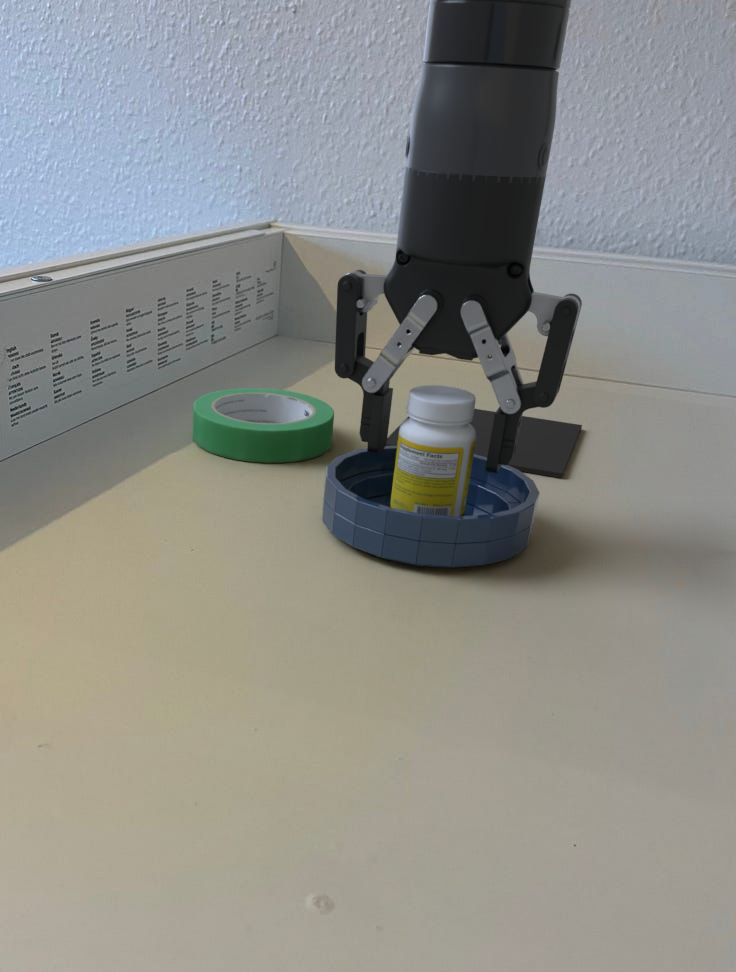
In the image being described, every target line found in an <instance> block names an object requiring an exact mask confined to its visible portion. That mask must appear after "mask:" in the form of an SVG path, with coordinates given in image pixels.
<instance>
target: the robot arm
mask: <svg viewBox="0 0 736 972" xmlns="http://www.w3.org/2000/svg"><path fill="white" fill-rule="evenodd" d="M428 2H429V4H428V10H427V18H426V19H427V20H426V25H425V34H424V42H423V43H424V44H423V51H422V60H421V61H422V62H423V63H424V64H422V65H421V69H420V75H419V80H418V84H417V89H416V91H415V92H416V94H415V96H414V102H413V106H412V110H411V118H410V125H409V133H408V136H407V137H406V142H405V143H406V144H405V152H404V156H405V168H404V176H403V177H404V178H403V186H402V194H401V203H400V204H401V205H400V211H399V222H398V230H397V237H396V238H397V240H396V248H395V257H394V261H393V264H392V266H391V269H390V270H389V271H388V273H387V274H374V273H373V274H371V273H367V272H366V271H364V270H362V269H356V270H352V271H350V272H348V273H346V274H344V275H343V276H341V277H340V278H339V280H338V281H337V289H336V316H335V317H336V319H335V321H336V322H335V347H334V348H335V349H334V372H335V374H336V375H337V377H339V378H340V379H349V380H351V381H352V382H354V383H356V384H357V385H358V386H359V387H360V388H361V390H362V394H363V395H362V396H363V397H362V406H361V415H360V424H359V425H360V426H359V436H360V440H361V442H363V443H367V447H366V448H367V451H368V452H373V453H380V452H381V451H382V450H383V449H384V448H385V446H386V443H387V438H388V437H389V429H390V421H391V419H390V418H391V409H392V404H393V403H392V401H393V394H394V388H393V387H390V382H391V379H392V378H393V376H394V375H395V374H396V373H397V372H398V370H399V369H400V367H401V366H402V365H403V363H404V362H405V361H406V359H407V358H408V357H409V356H410V355H411V353H412V352H413V351H414V350H417V351H418V353H419V354H420V355H427V356H438V355H443V354H446V355H448V356H450V357H453V358H455V359H458V360H463V361H470V362H471V361H473V360H474V359H478V361H479V362H480V365H481V367H482V370H483V373H484V375H485V377H486V379H487V380H488V381H489V383H490V385H491V387H492V390H493V393H494V396H495V398H496V400H497V403H498V405H499V407H498V408H497V410H496V411H494V412H495V416H494V422H493V427H492V433H491V439H490V445H489V451H488V457H487V462H486V469H485V471H486V472H492V473H498V471H499V469H500V467H501V465H508V463H509V462H510V460H511V459H512V457H513V455H514V453H515V452H516V446H517V441H518V435H519V430H520V425H521V420H522V416H523V414H524V412H525V411H527V410H530V409H534V408H543V409H544V408H549V407H551V405H553V403H554V402H555V400H556V398H557V396H558V393H559V392H560V389H561V386H562V382H563V378H564V374H565V372H566V371H565V370H566V366H567V363H568V360H569V355H570V351H571V347H572V344H573V340H574V337H575V333H576V329H577V325H578V320H579V317H580V314H581V309H582V305H583V301H582V299H581V297H580V296H579V295H578V294H576V293H567V294H565V295H564V296H559V295H554V294H550V293H549V294H548V293H543V292H537V291H534V287H533V284H532V281H531V273H530V272H531V271H530V270H531V263H532V257H533V252H534V245H535V241H536V235H537V229H538V223H539V218H540V213H541V212H540V211H541V208H542V207H541V206H542V200H543V195H544V190H545V183H546V179H547V173H548V167H549V162H550V161H549V160H550V155H551V150H552V149H551V148H552V144H553V139H554V132H555V125H556V124H555V123H556V117H557V103H558V102H557V98H558V83H559V77H560V72H559V71H558V70H559V69H560V68H561V62H562V57H563V52H564V47H565V40H566V36H567V35H566V34H567V28H568V23H569V17H570V11H571V10H570V9H571V7H572V6H571V5H572V0H429V1H428ZM382 294H384V297H385V300H386V301H387V303H388V305H389V307H390V310H391V311H392V313H393V315H394V316H395V318H396V320H397V322H398V324H399V326H398V327H397V329H396V330H395V331H394V333H393V334H392V335H391V337H390V338H389V340H388V341H387V343H386V344H385V345H384V347H383V348H382V349H381V351H380V353H379V355H378V356H377V357H376V359H375V361H373V360H371V359H369V358H367V357H366V346H367V327H368V326H367V325H368V312H370V311H372V310H373V309H374V308H376V306H377V304H378V299H379V297H380V296H381V295H382ZM528 312H530V313H531V314H533V315H534V316H535V318H536V328H537V332H538V333H539V334H540V335H542V336H544V337H547V338H546V343H545V347H544V350H543V355H542V358H541V362H540V367H539V369H538V370H539V371H538V374H537V379H536V381H531V382H527V383H524V381H523V377H522V375H521V372H520V370H519V367H518V365H517V364H518V363H517V357H516V354H515V351H514V349H513V346H512V343H511V341H510V338H509V336H508V333H509V332H510V331H511V330H512V329H513V327H515V325H517V323H519V321H520V320H521V319H522V318H523V317H524V316H526V314H527V313H528Z"/></svg>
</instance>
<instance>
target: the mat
mask: <svg viewBox="0 0 736 972" xmlns="http://www.w3.org/2000/svg"><path fill="white" fill-rule="evenodd" d="M495 412H496V411H494V410H485V409H479V408H474V416H473V420H472V421H471V422H470V423H469V424H471V425H472V426H473V428H474V429H475V432H476V443H475V449H474V454H476V455H479V456H483V457H488V451H489V445H490V439H491V433H492V427H493V422H494V416H495ZM407 416H408V415H407ZM408 418H410V417H409V416H408V417H406V419H408ZM400 426H401V424H400V425H399V426H397V427H396V429H395V430H393V432H392V433H391V434H390V435H388V437H387V443H386V446H397V442H398V433H399V428H400ZM582 427H583V425H582V424H577V423H572V422H566V421H559V420H551V419H545V418H538V417H532V416H525V415H522V420H521V425H520V430H519V435H518V441H517V446H516V452H515V453H514V455H513V457H512V459H511V460H510V462H509V463H508V466H511V467H513V468H515V469H518V470H519V471H521V472H522V473H527V474H528V473H529V474H533V475H540V476H544V477H545V476H546V477H552V478H556V479H557V478H558V479H563V477H564V474H565V472H566V469H567V466H568V464H569V462H570V460H571V457H572V455H573V451H574V448H575V446H576V444H577V441H578V439H579V436H580V433H581V431H582Z"/></svg>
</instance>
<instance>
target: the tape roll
mask: <svg viewBox="0 0 736 972" xmlns="http://www.w3.org/2000/svg"><path fill="white" fill-rule="evenodd" d="M192 407H193V408H192V439H193V442H194V443H195V444H196V445H197V446H198V447H199V448H201V449H203V450H204V451H206V452H208V453H211V454H213V455H216V456H219V457H223V458H227V459H230V460H236V461H242V462H250V463H262V464H263V463H264V464H281V463H282V464H283V463H294V462H295V463H296V462H300V461H301V462H303V461H305V460H306V461H307V460H310V459H314V458H317V457H319V456H322V455H324V454H325V453H326V452H328V451H329V450H330V448H331V447H332V442H333V441H332V440H333V432H334V421H335V411H334V408H333V407H332V406H331V405H330V404H329V403H326V402H325V401H323V400H321V399H319V398H317V397H314V396H311V395H308V394H306V393H305V394H304V393H300V392H296V391H290V390H283V389H276V388H264V387H261V388H260V387H238V388H227V389H221V390H217V391H213V392H209V393H206V394H203V395H202V396H200V397H198V398H197V399H196V400H195V401H194V403H193V406H192Z"/></svg>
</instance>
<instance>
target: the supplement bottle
mask: <svg viewBox="0 0 736 972" xmlns="http://www.w3.org/2000/svg"><path fill="white" fill-rule="evenodd" d="M475 407H476V396H475V394H474V393H472V392H470V391H468V390H466V389H463V388H459V387H455V386H448V385H442V384H441V385H440V384H427V385H419V386H415V387H412V388H411V389H410V390H409V394H408V399H407V405H406V415H407V416H409V417H410V418H408V417H407V418H408V419H407V418H405V420H403V421H402V423H400V425H401V426H400V425H399V426H400V428H399V433H398V442H397V451H396V460H395V469H394V477H393V486H392V494H391V504H390V508H395V509H400V510H405V511H411V512H416V513H421V514H432V515H446V516H464V513H465V507H466V500H467V494H468V487H469V481H470V474H471V468H472V461H473V455H474V449H475V443H476V432H475V429H474V428H473V426H472V425H471V424H469V423H470V422H471V421H472V420H473V416H474V409H476V408H475Z"/></svg>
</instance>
